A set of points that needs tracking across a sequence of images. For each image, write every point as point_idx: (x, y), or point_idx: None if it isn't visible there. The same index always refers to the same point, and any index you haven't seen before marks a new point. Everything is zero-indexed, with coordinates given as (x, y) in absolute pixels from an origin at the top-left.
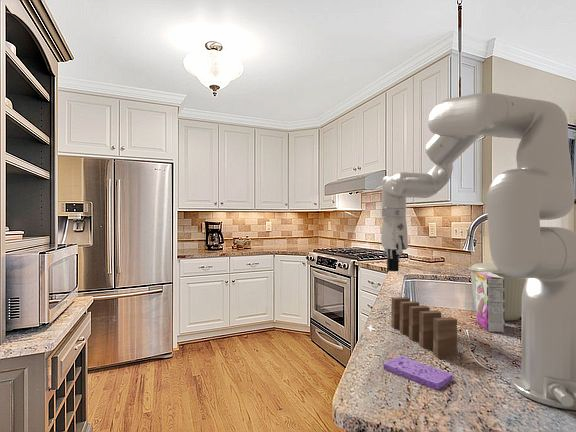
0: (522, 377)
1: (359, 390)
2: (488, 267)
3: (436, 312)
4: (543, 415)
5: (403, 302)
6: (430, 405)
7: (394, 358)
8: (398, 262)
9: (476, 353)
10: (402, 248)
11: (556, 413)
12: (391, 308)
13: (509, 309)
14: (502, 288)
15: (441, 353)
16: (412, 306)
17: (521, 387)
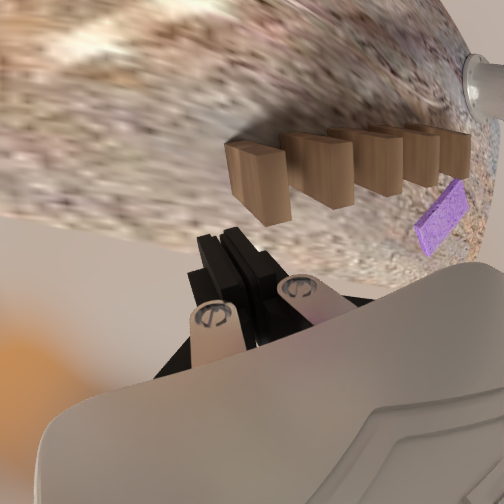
0: (485, 113)
1: None
2: None
3: (437, 147)
4: (494, 134)
5: (345, 200)
6: (473, 223)
7: (423, 239)
8: (260, 255)
9: (404, 75)
10: (385, 307)
11: (493, 119)
12: (251, 212)
13: None
14: None
15: None
16: (390, 187)
17: (484, 121)
